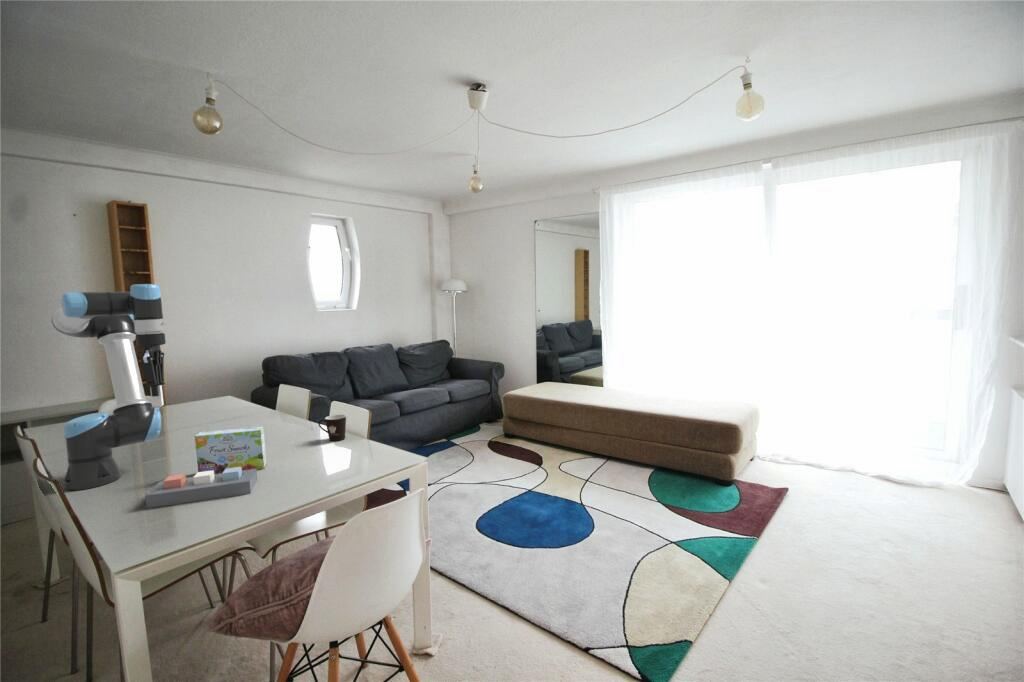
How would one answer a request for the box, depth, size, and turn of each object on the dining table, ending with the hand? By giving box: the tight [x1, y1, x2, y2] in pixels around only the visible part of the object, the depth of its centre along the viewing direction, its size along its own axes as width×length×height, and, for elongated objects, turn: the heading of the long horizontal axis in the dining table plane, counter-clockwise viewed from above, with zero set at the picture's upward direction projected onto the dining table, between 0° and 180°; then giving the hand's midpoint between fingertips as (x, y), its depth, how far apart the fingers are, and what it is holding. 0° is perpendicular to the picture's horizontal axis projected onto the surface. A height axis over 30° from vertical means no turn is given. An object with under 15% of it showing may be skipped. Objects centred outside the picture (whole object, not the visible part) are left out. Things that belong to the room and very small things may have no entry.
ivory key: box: [192, 470, 215, 485], centre depth 155 cm, size 5×5×4 cm
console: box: [145, 469, 258, 509], centre depth 155 cm, size 28×12×4 cm, turn 109°
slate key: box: [222, 467, 242, 481], centre depth 157 cm, size 5×5×4 cm
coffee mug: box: [318, 414, 347, 443], centre depth 210 cm, size 12×9×10 cm
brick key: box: [162, 473, 187, 489], centre depth 152 cm, size 5×5×4 cm
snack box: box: [194, 426, 268, 474], centre depth 175 cm, size 21×6×15 cm, turn 105°
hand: (157, 405), depth 156 cm, fingers closed
